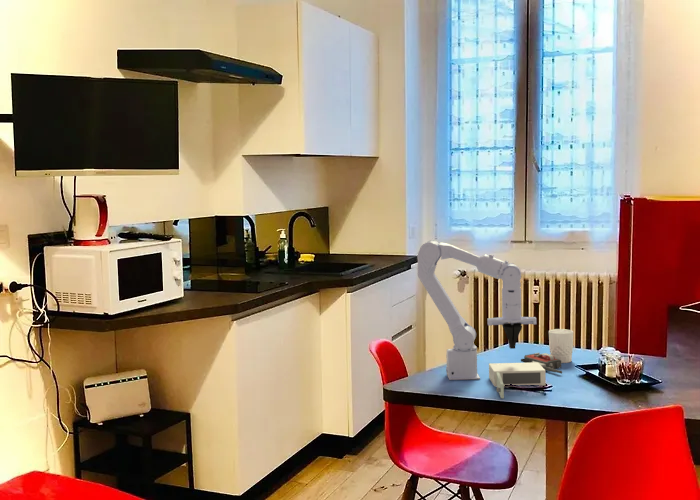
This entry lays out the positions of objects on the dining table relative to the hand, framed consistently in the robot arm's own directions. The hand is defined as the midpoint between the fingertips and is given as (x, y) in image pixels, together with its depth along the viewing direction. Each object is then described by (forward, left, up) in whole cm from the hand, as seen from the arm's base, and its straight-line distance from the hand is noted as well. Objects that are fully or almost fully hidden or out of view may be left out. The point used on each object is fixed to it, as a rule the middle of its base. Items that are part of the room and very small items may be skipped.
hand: (512, 347), depth 232 cm
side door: (-7, -16, -9) cm, 20 cm away
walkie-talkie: (+13, +12, -10) cm, 20 cm away
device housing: (0, -4, -9) cm, 10 cm away
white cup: (+20, +21, -10) cm, 31 cm away
